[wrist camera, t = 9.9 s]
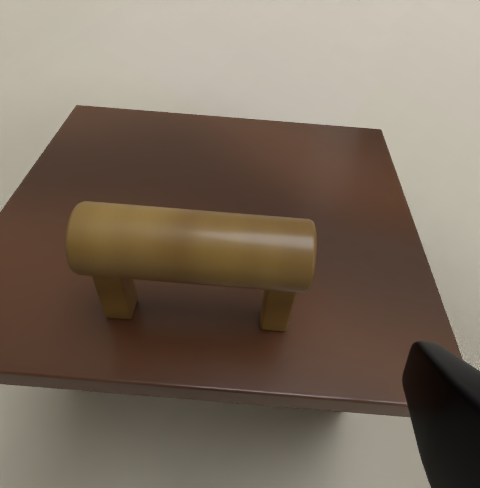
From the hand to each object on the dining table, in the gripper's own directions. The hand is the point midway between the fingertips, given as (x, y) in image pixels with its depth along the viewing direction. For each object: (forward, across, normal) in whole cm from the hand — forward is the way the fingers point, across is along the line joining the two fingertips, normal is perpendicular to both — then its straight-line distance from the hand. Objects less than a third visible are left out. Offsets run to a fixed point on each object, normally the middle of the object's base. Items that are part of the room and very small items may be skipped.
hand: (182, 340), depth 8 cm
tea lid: (+7, 0, 0) cm, 7 cm away
